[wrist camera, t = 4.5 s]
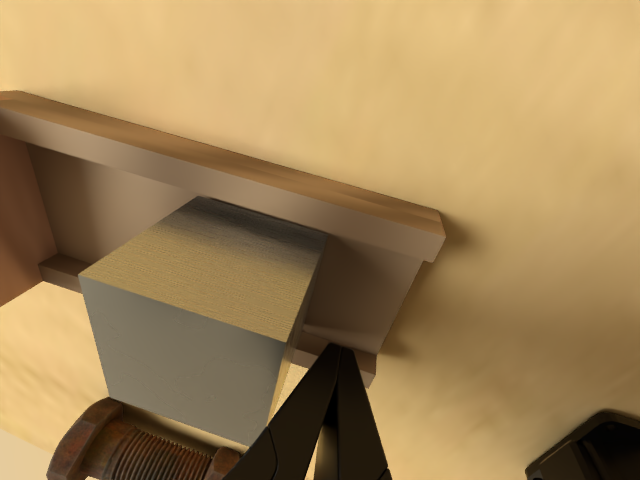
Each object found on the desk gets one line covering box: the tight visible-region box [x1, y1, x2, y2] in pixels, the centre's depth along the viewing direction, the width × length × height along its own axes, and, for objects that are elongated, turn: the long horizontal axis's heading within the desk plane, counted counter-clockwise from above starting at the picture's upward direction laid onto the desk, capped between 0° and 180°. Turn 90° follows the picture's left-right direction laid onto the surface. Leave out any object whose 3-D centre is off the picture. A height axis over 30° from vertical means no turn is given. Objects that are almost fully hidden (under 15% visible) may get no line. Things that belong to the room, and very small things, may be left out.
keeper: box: [78, 196, 328, 447], centre depth 10 cm, size 5×5×5 cm
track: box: [0, 90, 446, 389], centre depth 11 cm, size 17×8×5 cm, turn 78°
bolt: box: [46, 397, 241, 480], centre depth 22 cm, size 6×5×15 cm
